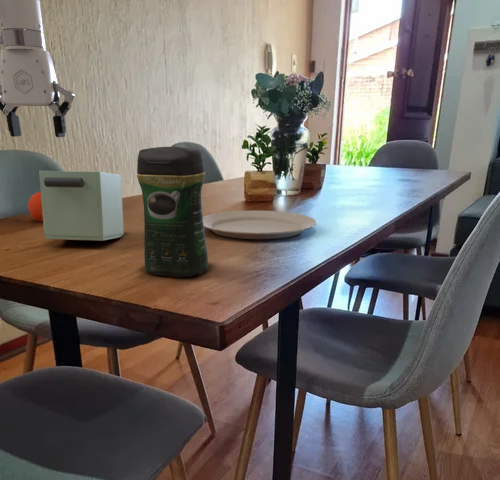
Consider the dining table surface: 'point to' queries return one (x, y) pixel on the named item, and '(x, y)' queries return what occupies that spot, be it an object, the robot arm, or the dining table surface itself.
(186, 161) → the coffee jar
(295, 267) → the dining table surface
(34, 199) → the clementine
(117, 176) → the pale sage cube
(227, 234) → the plate
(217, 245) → the dining table surface
